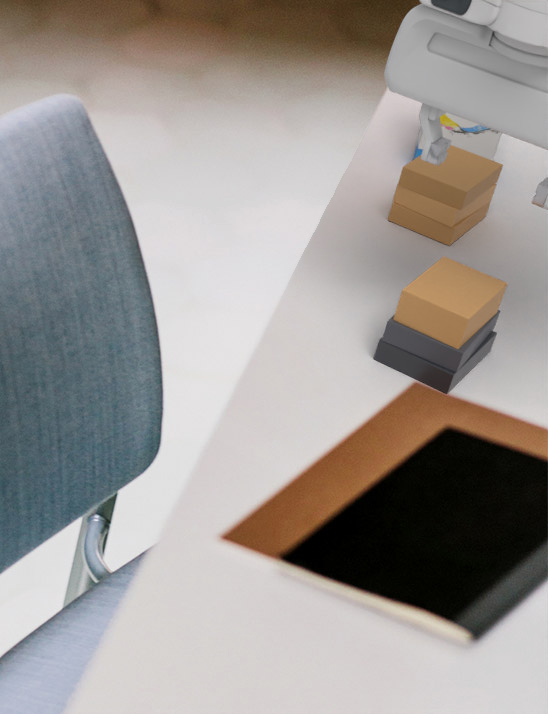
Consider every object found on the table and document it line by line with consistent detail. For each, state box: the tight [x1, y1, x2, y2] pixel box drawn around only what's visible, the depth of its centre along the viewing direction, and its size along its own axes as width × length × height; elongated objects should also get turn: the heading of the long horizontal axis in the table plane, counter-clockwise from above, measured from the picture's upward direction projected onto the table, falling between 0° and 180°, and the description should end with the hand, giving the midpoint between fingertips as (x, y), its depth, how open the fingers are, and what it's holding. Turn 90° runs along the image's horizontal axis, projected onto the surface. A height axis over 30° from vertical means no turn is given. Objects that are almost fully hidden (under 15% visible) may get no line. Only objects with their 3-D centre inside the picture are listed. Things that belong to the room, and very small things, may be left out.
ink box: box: [412, 112, 503, 161], centre depth 131 cm, size 9×8×12 cm
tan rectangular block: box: [393, 255, 509, 349], centre depth 100 cm, size 6×8×3 cm
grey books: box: [373, 309, 501, 395], centre depth 102 cm, size 7×9×4 cm
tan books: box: [387, 145, 504, 247], centre depth 122 cm, size 7×9×6 cm
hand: (486, 182), depth 93 cm, fingers open, 8 cm apart
